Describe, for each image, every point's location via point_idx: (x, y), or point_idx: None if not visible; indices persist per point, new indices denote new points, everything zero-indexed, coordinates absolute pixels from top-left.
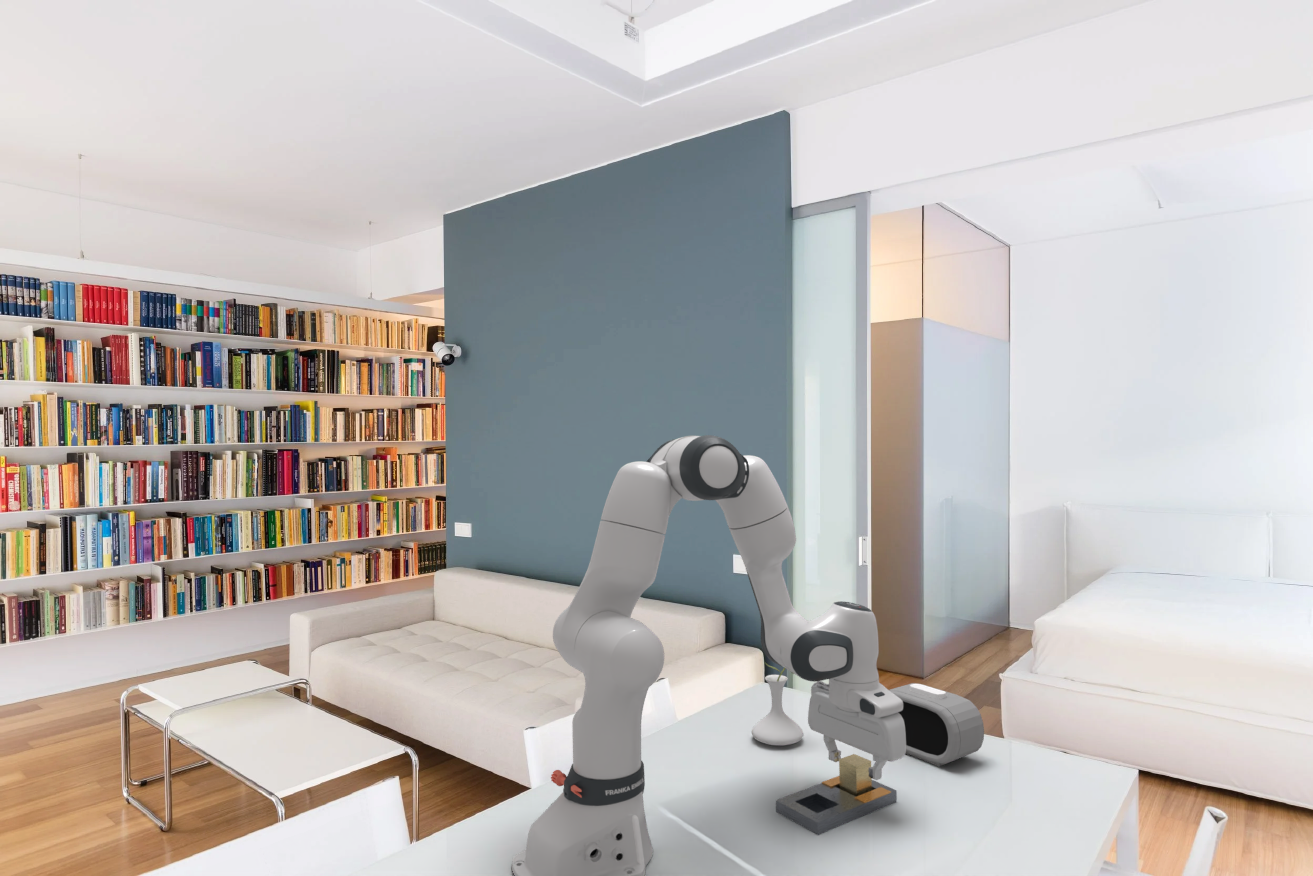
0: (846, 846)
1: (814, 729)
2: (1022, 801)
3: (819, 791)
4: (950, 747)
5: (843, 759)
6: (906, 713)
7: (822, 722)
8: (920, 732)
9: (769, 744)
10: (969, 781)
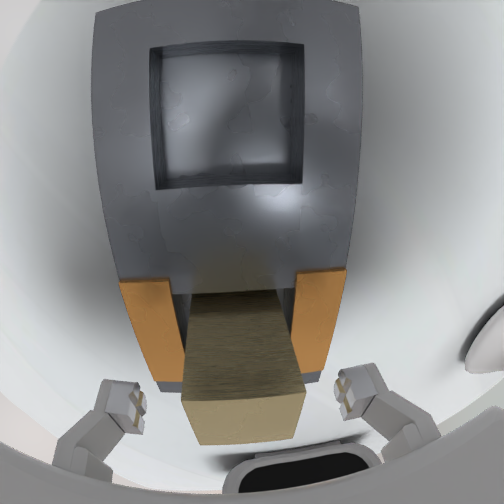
0: (54, 94)
1: (485, 420)
2: (118, 446)
3: (304, 207)
4: (230, 487)
5: (288, 402)
6: None
7: (467, 488)
8: (293, 486)
9: (500, 308)
10: (193, 452)
